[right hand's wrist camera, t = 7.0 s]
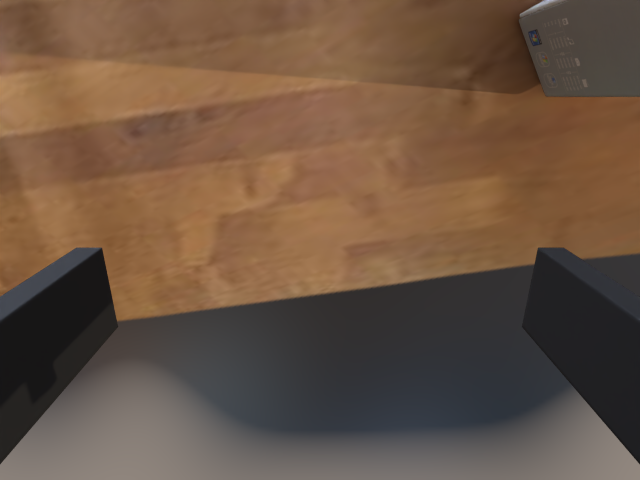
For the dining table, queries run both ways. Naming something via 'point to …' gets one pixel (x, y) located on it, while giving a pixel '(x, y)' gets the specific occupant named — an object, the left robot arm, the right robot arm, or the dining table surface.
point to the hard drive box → (585, 47)
